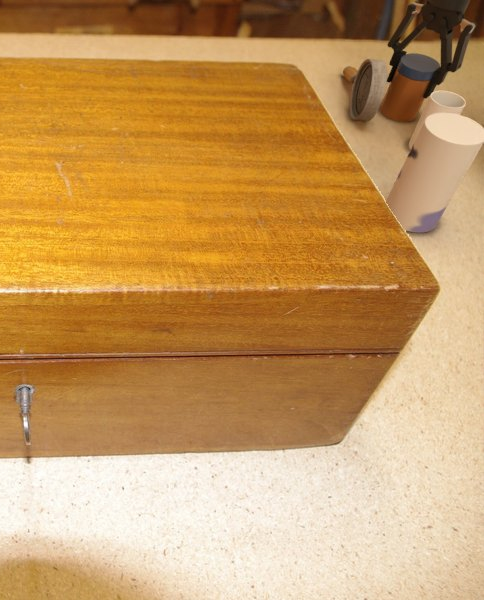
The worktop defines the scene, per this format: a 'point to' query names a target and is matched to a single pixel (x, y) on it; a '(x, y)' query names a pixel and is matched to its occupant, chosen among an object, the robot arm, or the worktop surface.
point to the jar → (403, 98)
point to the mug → (439, 108)
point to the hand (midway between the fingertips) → (408, 87)
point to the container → (434, 170)
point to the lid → (417, 66)
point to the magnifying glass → (366, 88)
